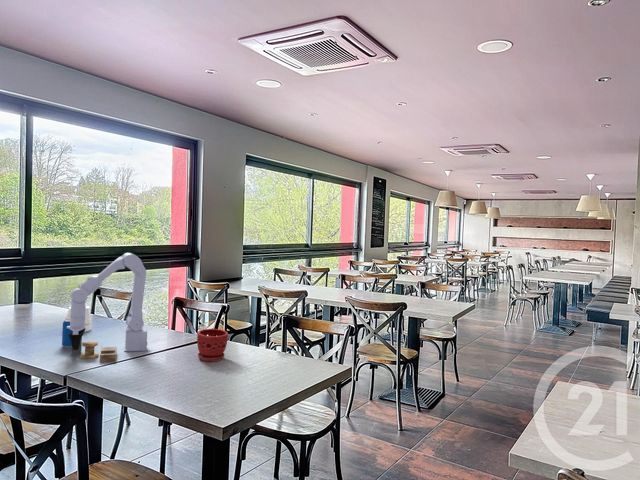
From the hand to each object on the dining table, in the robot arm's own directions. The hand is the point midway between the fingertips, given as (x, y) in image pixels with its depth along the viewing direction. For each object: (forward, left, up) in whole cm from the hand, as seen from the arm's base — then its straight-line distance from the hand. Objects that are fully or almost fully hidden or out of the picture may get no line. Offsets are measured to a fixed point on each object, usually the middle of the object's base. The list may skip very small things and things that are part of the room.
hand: (76, 347), depth 204 cm
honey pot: (+4, -47, -3) cm, 47 cm away
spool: (-6, +5, -3) cm, 8 cm away
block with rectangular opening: (-13, +8, -3) cm, 16 cm away
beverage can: (+4, -14, -3) cm, 15 cm away
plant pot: (-55, +17, -3) cm, 58 cm away
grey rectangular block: (0, 0, -3) cm, 3 cm away
